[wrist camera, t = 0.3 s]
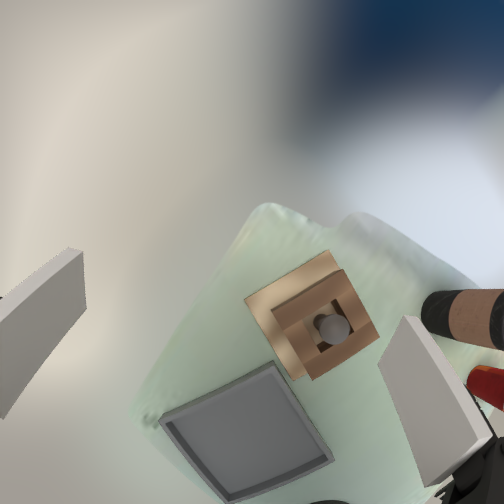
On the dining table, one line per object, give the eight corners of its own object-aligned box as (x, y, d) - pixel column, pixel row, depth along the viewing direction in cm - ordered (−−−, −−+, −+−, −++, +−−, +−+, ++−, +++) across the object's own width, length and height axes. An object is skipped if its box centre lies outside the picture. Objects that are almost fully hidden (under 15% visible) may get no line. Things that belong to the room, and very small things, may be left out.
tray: (331, 451, 40) (335, 460, 37) (228, 496, 40) (226, 505, 37) (273, 360, 42) (274, 365, 39) (163, 413, 42) (157, 420, 39)
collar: (367, 332, 35) (379, 337, 31) (306, 371, 34) (312, 380, 30) (334, 270, 36) (342, 269, 32) (270, 309, 35) (271, 312, 31)
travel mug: (412, 305, 43) (495, 312, 23) (444, 281, 43) (527, 275, 23) (429, 343, 42) (508, 367, 22) (459, 318, 42) (540, 327, 22)
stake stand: (370, 329, 43) (417, 346, 28) (291, 378, 42) (306, 418, 27) (326, 250, 44) (358, 233, 29) (244, 299, 44) (237, 305, 29)
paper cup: (466, 405, 40) (510, 427, 26) (458, 375, 41) (506, 394, 27) (492, 381, 40) (537, 397, 26) (486, 351, 41) (534, 363, 27)
